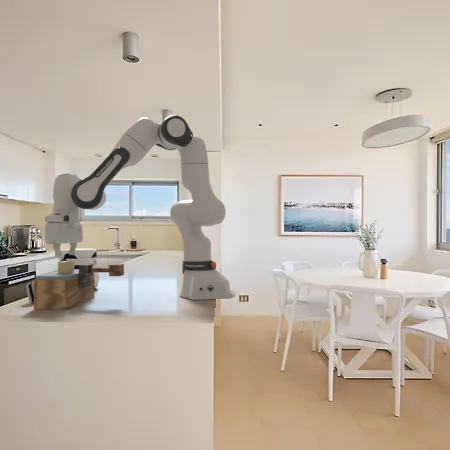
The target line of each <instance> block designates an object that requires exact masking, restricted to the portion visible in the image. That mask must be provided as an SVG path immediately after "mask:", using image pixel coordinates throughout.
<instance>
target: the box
mask: <svg viewBox="0 0 450 450" xmlns="http://www.w3.org/2000/svg"><path fill="white" fill-rule="evenodd" d="M91 268H93V264H82V265H79V277H76V278H72V279H69V280H35V279H33V280H34V303H33V309H34V310H57V311H58V310H60V311H61V310H62V311H63V310H65V311H66V310H67V311H68V310H71V309H73V308H75V307H77V306H79V305H82V304H83V303H87V302H88V301H90V300H92V298H93V299H95V288H94V272H91Z"/></svg>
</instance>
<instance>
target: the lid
mask: <svg viewBox="0 0 450 450" xmlns="http://www.w3.org/2000/svg"><path fill="white" fill-rule="evenodd" d="M76 277H79V269H74V261H62V262H59V261H58V263H57V270H56V271H51V272H48V273H42V274H39V275H35V279H34V280H69V279H72V278H76Z"/></svg>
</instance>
